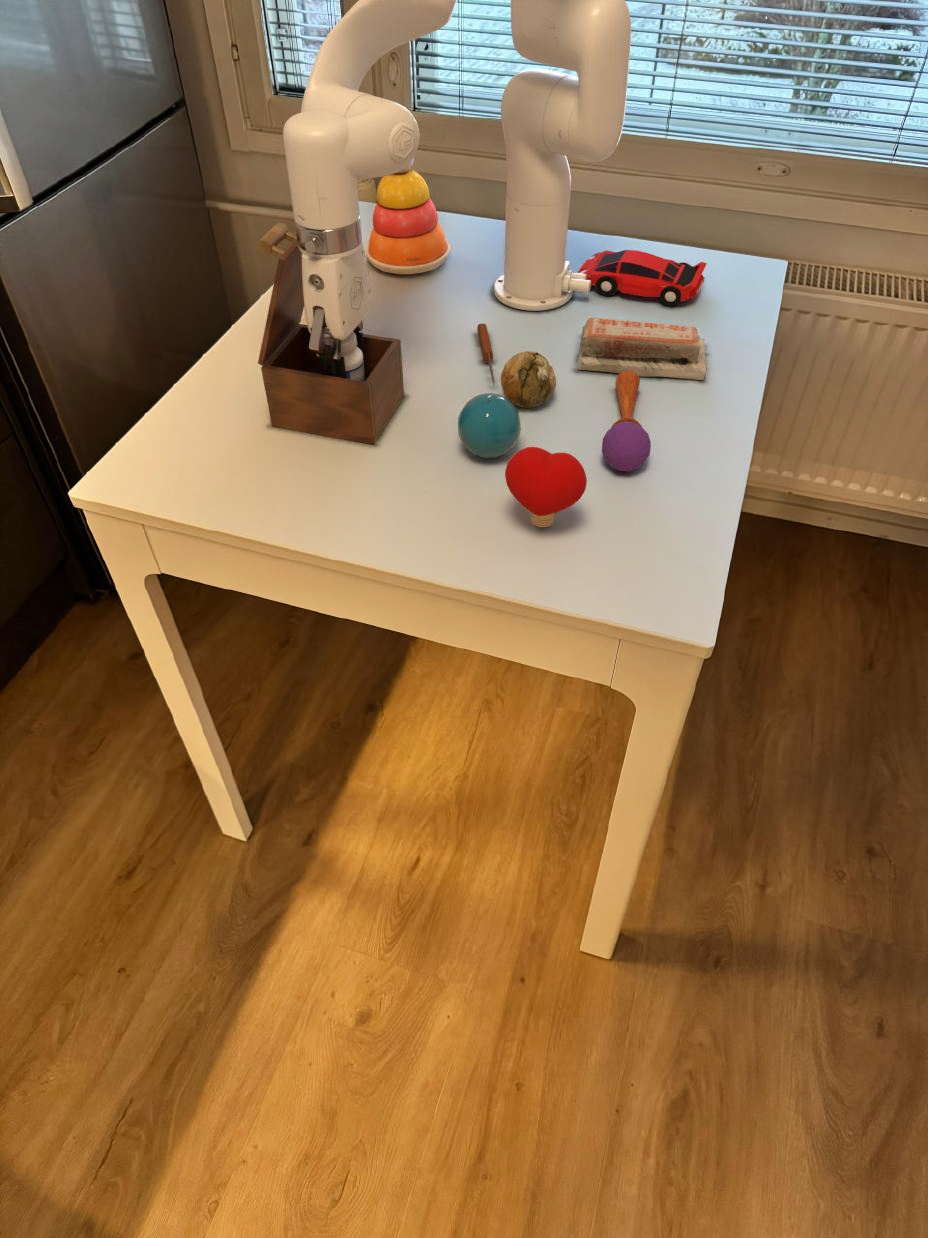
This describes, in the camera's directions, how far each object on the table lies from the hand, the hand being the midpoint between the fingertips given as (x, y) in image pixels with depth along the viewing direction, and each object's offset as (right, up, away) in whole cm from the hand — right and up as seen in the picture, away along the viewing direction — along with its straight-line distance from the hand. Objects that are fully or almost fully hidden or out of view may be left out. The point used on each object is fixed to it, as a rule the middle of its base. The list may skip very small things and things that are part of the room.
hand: (343, 370), depth 119 cm
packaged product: (+41, +5, +14) cm, 44 cm away
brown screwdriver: (+19, +5, +14) cm, 24 cm away
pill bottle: (0, -3, +4) cm, 5 cm away
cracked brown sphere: (+25, -2, +7) cm, 26 cm away
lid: (-6, +8, -6) cm, 11 cm away
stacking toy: (+6, +28, +36) cm, 46 cm away
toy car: (+44, +21, +29) cm, 56 cm away
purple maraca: (+37, -8, +1) cm, 38 cm away
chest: (-1, -4, +5) cm, 7 cm away
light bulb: (+25, -21, -11) cm, 35 cm away
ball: (+19, -11, -1) cm, 22 cm away
